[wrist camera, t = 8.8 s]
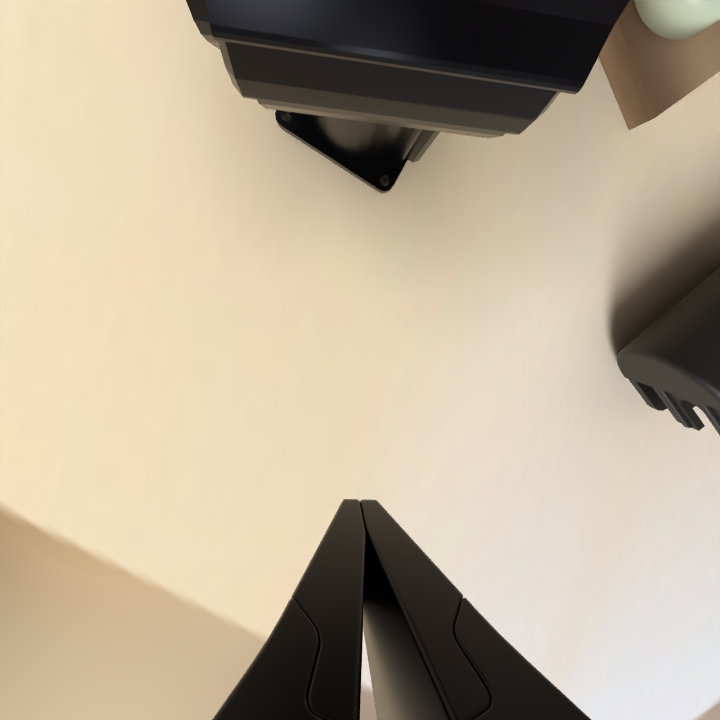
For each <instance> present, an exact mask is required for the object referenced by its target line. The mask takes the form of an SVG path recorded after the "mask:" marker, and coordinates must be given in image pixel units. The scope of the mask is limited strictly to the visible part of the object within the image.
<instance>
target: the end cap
mask: <svg viewBox="0 0 720 720" xmlns="http://www.w3.org/2000/svg"><path fill="white" fill-rule="evenodd" d="M617 362H618V366H619V368H620V370H621V372H622V374H623V375H624V377H625V378H628V379H629V380H630V382H631V383H632V384H633V386H634V387H635V388H636V390H637V391H638V392H639V394H640V395H641V396H642V398H643V399H644V401H645V402H646V403H647V405H649V406H650V407H652V408H654V409H656V410H665V409H667V408H668V409H669V411H670V412H671V413H672V415H673V416H674V418H675V419H676V420H677V421H678V422H680V423H682V424H683V425H684V427H688V428H694V429H696V430H700V429H702V428H703V427H704V424H703V423H702V421H701V420H700V418H699V417H698V416H697V414H696V413H695V411H694V410H693V407H695V406H697V407H699V408H700V409H701V410H702V411H703V412H704V413H705V415H706V416H707V417H708V419H709V420H710V422H711V423H712V425H713V426H714V428H715V429H716V430H717V432H718V433H719V435H720V267H719V268H718V269H716V270H715V271H714V272H713V273H712V274H711V275H709V276H708V277H707V278H706V279H705V280H703V281H702V282H701V283H700V284H699V285H698V286H696V287H695V288H694V289H693V290H692V291H690V292H689V293H688V294H687V295H686V296H685V297H683V298H682V299H681V300H680V301H679V302H677V303H676V304H675V305H674V306H673V307H672V308H670V309H669V310H668V311H667V312H666V313H664V314H663V315H662V316H661V317H660V318H659V319H657V320H656V321H655V322H654V323H653V324H651V325H650V326H649V327H648V328H647V329H646V330H644V331H643V332H642V333H641V334H640V335H638V336H637V337H636V338H635V339H634V340H633V341H631V342H630V343H629V344H628V345H627V346H625V347H624V348H623V349H622V350H621V351H620V352H619V353H618V357H617Z"/></svg>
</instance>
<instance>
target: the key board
mask: <svg viewBox="0 0 720 720" xmlns="http://www.w3.org/2000/svg"><path fill="white" fill-rule="evenodd" d="M599 57H600V60H601V62H602V65H603V67H604V70H605V72H606V75H607V77H608V79H609V82H610V84H611V87H612V89H613V92H614V94H615V97H616V99H617V101H618V104H619V106H620V109H621V111H622V114H623V116H624V118H625V121H626V123H627V126H628V128H629V130H631V129H633V128H635V127H637V126H639V125H641V124H643V123H645V122H647V121H649V120H651V119H653V118H655V117H657V116H658V115H659V114H661V113H662V112H664V111H665V110H666V109H668V108H669V107H670V106H672V105H673V104H675V103H676V102H677V101H679V100H680V99H682V98H683V97H684V96H686V95H687V94H689V93H690V92H691V91H693V90H694V89H696V88H697V87H698V86H700V85H701V84H702V83H704V82H705V81H707V80H708V79H709V78H711V77H712V76H714V75H715V74H716V73H718V72H719V71H720V20H719V21H717V22H716V23H714V24H713V25H711V26H710V27H708V28H706V29H705V30H703V31H702V32H700V33H699V34H697V35H695V36H692V37H689V38H686V39H680V40H671V39H666V38H663V37H661V36H658V35H657V34H655V33H654V32H652V31H651V30H650V29H649V28H648V27H647V26H646V25H645V23H644V22H643V20H642V19H641V17H640V15H639V13H638V11H637V8H636V5H635V2H634V0H630V1H629V3H628V4H627V6H626V7H625V9H624V11H623V12H622V14H621V15H620V17H619V18H618V20H617V22H616V23H615V25H614V27H613V29H612V31H611V32H610V34H609V36H608V38H607V40H606V42H605V44H604V46H603V48H602V50H601V52H600V54H599Z"/></svg>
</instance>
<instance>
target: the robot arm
mask: <svg viewBox="0 0 720 720" xmlns="http://www.w3.org/2000/svg"><path fill="white" fill-rule="evenodd" d="M186 1H187V4H188V6H189V9H190V12H191V14H192V17H193V19H194V21H195V23H196V25H197V27H198V29H199V31H200V33H201V34H202V35H203V37H204V38H205V39H206V40H207V41H208V42H210V43H211V44H213V45H214V46H216V47H217V48H219V49H220V50H221V53H222V57H223V60H224V63H225V67H226V69H227V71H228V74H229V76H230V78H231V81H232V83H233V85H234V86H235V87H236V89H237V90H238V91H239V92H240V94H241V95H242V96H243V97H244V98H250V99H257V100H258V102H259V104H261V105H262V106H263V107H265V108H266V109H273V110H276V113H275V115H276V120H277V123H278V125H279V127H280V128H282V129H283V130H284V131H286V132H287V133H289V134H290V135H292V136H293V137H295V138H297V139H298V140H300V141H301V142H303V143H304V144H306V145H307V146H309V147H310V148H312V149H313V150H315V151H317V152H318V153H320V154H321V155H323V156H324V157H326V158H327V159H329V160H330V161H332V162H334V163H335V164H337V165H338V166H340V167H341V168H343V169H344V170H346V171H347V172H349V173H350V174H352V175H354V176H355V177H357V178H358V179H360V180H361V181H363V182H364V183H366V184H367V185H369V186H370V187H372V188H374V189H375V190H377V191H378V192H380V193H387V192H389V191H390V190H391V188H392V187H393V185H394V184H395V182H396V180H397V178H398V176H399V174H400V172H401V171H402V169H403V167H404V165H405V163H406V161H407V160H410V161H411V162H415V161H418V160H419V159H420V157H421V156H422V155H423V154H424V152H425V151H426V150H427V148H428V147H429V146H430V144H431V143H432V142H433V140H434V139H435V138H436V136H437V135H438V134H439V132H446V133H453V134H461V135H468V136H476V137H483V138H493V137H499V136H503V135H504V134H506V133H508V134H516V135H517V134H520V133H521V132H522V131H524V130H525V129H526V128H527V127H528V126H529V125H530V124H532V123H533V122H534V121H535V120H536V119H537V118H538V117H539V116H540V115H541V114H542V113H544V112H545V111H546V109H547V108H548V107H549V106H550V104H551V103H552V102H553V101H554V99H555V98H556V97H557V96H558V94H559V93H560V92H564V93H570V94H576V93H578V92H579V91H580V89H581V88H582V87H583V85H584V83H585V81H586V79H587V77H588V75H589V73H590V71H591V69H592V67H593V66H594V64H595V62H596V60H597V58H598V56H599V54H600V52H601V50H602V48H603V46H604V44H605V42H606V40H607V38H608V36H609V34H610V32H611V31H612V29H613V27H614V25H615V23H616V22H617V20H618V18H619V17H620V15H621V14H622V12H623V11H624V9H625V7H626V6H627V4H628V3H629V1H630V0H186ZM286 113H288V114H290V115H291V119H290V121H288V122H285V121H283V120H282V116H283V115H284V114H286ZM382 177H385V178H386V179H387V180H388V185H387V186H382V185H381V184H380V178H382ZM363 628H364V635H365V641H366V648H367V655H368V661H369V668H370V674H371V681H372V688H373V694H374V701H375V707H376V714H377V720H591V719H590V718H589V717H588V716H587V715H586V714H584V713H583V712H582V711H581V710H580V709H579V708H578V707H577V706H576V705H575V704H574V703H573V702H572V701H570V700H569V699H568V698H567V697H566V696H565V695H564V694H563V693H562V692H561V691H560V690H559V689H557V688H556V687H555V686H554V685H553V684H552V683H551V682H550V681H549V680H548V679H547V678H546V677H545V676H543V675H542V674H541V673H540V672H539V671H538V670H537V669H536V668H535V667H534V666H533V665H532V664H531V663H529V662H528V661H527V660H526V659H525V658H524V657H523V656H522V655H521V654H520V653H519V652H518V651H517V650H516V649H515V648H514V647H513V646H512V645H511V644H510V643H508V642H507V641H506V640H505V639H504V638H503V637H502V636H501V635H500V634H499V633H498V632H497V631H496V630H495V629H494V628H493V627H492V625H491V624H490V623H489V622H488V621H487V620H486V619H485V618H484V617H483V616H482V615H481V614H480V613H479V612H478V611H477V610H476V609H475V608H474V606H473V605H472V604H471V603H470V602H469V601H468V600H467V599H466V598H463V595H462V593H461V592H460V591H459V590H458V589H457V588H456V587H455V586H454V585H453V584H452V582H451V581H450V580H449V579H448V578H447V577H446V576H445V575H444V574H443V573H442V572H441V570H440V569H439V568H438V567H437V566H436V565H435V564H434V563H433V562H432V561H431V559H430V558H429V557H428V556H427V555H426V554H425V553H424V552H423V551H422V550H421V548H420V547H419V546H418V545H417V544H416V543H415V542H414V541H413V540H412V539H411V537H410V536H409V535H408V534H407V533H406V532H405V531H404V530H403V529H402V528H401V527H400V525H399V524H398V523H397V522H396V521H395V520H394V519H393V518H392V517H391V516H390V514H389V513H388V512H387V511H386V510H385V509H384V508H383V507H382V506H381V505H380V503H379V502H378V501H376V500H361V501H359V500H357V499H344V500H343V501H342V503H341V505H340V507H339V509H338V510H337V512H336V514H335V516H334V518H333V520H332V522H331V524H330V526H329V527H328V529H327V531H326V533H325V535H324V537H323V539H322V541H321V542H320V544H319V546H318V548H317V550H316V552H315V554H314V556H313V557H312V559H311V561H310V563H309V565H308V567H307V569H306V571H305V573H304V574H303V576H302V578H301V580H300V582H299V584H298V586H297V588H296V589H295V591H294V593H293V595H292V599H290V600H289V602H288V604H287V606H286V608H285V610H284V612H283V613H282V615H281V617H280V619H279V620H278V622H277V624H276V626H275V627H274V629H273V631H272V633H271V634H270V636H269V638H268V639H267V641H266V642H265V644H264V645H263V647H262V649H261V650H260V652H259V653H258V655H257V656H256V658H255V659H254V661H253V662H252V664H251V665H250V667H249V668H248V669H247V671H246V672H245V674H244V675H243V677H242V678H241V680H240V681H239V682H238V684H237V685H236V687H235V688H234V689H233V691H232V692H231V694H230V695H229V697H228V698H227V700H226V701H225V702H224V704H223V705H222V706H221V708H220V709H219V711H218V712H217V714H216V715H215V717H214V718H213V719H212V720H360V693H361V666H362V638H363Z"/></svg>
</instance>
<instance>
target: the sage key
mask: <svg viewBox="0 0 720 720" xmlns="http://www.w3.org/2000/svg"><path fill="white" fill-rule="evenodd" d="M634 2H635V5H636V8H637V11H638V13H639V15H640V17H641V19H642V20H643V22H644V23H645V25H646V26H647V27H648V28H649V29H650V30H651V31H652V32H654V33H655V34H657V35H658V36H661V37H663V38H666V39H671V40H680V39H686V38H689V37H692V36H695V35H697V34H699V33H700V32H702V31H703V30H705V29H706V28H708V27H710V26H711V25H713V24H714V23H716V22H717V21H719V20H720V0H634Z"/></svg>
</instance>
